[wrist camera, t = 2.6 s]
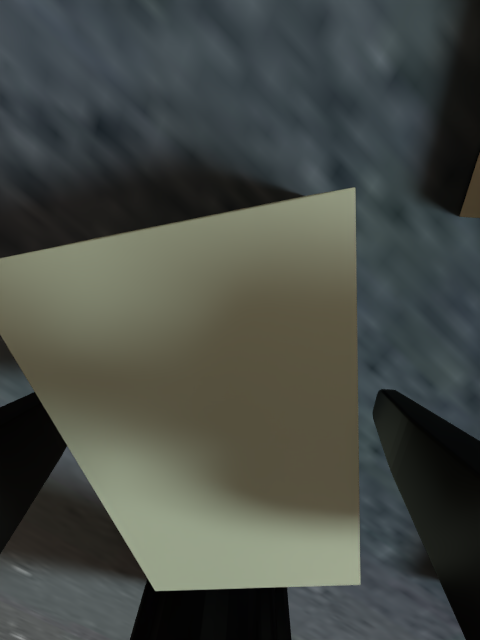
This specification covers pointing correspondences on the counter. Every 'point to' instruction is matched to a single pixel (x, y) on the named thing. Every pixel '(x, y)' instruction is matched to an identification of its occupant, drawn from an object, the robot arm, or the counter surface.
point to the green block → (207, 387)
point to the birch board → (473, 195)
